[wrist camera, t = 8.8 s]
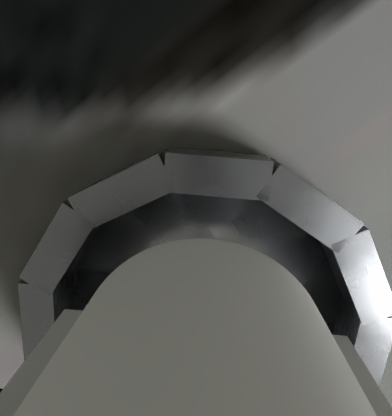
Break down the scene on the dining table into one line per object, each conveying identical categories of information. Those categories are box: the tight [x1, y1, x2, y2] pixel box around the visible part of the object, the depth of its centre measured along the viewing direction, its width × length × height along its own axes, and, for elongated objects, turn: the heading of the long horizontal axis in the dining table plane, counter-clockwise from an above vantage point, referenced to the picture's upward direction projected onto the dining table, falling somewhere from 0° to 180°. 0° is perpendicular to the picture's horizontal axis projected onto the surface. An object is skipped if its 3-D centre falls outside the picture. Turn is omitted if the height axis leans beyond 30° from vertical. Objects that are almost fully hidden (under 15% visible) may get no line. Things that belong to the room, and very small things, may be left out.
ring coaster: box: [18, 148, 392, 387], centre depth 15 cm, size 16×16×3 cm
